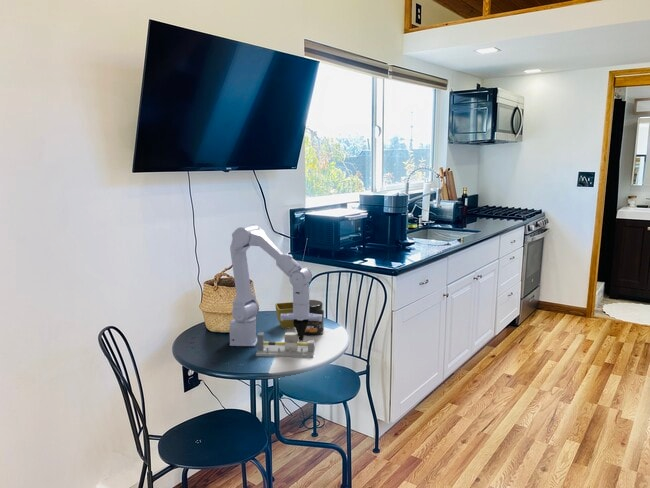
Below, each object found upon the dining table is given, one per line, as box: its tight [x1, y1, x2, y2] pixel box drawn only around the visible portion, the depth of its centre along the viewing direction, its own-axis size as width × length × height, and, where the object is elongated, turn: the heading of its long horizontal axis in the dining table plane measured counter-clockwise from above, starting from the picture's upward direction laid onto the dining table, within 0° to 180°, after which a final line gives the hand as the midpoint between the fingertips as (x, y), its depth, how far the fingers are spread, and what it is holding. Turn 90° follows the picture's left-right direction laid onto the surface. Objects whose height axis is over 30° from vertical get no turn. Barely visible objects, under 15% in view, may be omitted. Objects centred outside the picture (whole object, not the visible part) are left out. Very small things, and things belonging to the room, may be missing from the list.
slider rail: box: [255, 331, 316, 358], centre depth 175 cm, size 20×9×6 cm, turn 87°
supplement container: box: [304, 299, 325, 337], centre depth 194 cm, size 10×10×12 cm
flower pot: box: [275, 301, 295, 329], centre depth 201 cm, size 9×9×9 cm
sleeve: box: [284, 331, 299, 351], centre depth 174 cm, size 4×3×6 cm
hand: (301, 339), depth 174 cm, fingers closed
